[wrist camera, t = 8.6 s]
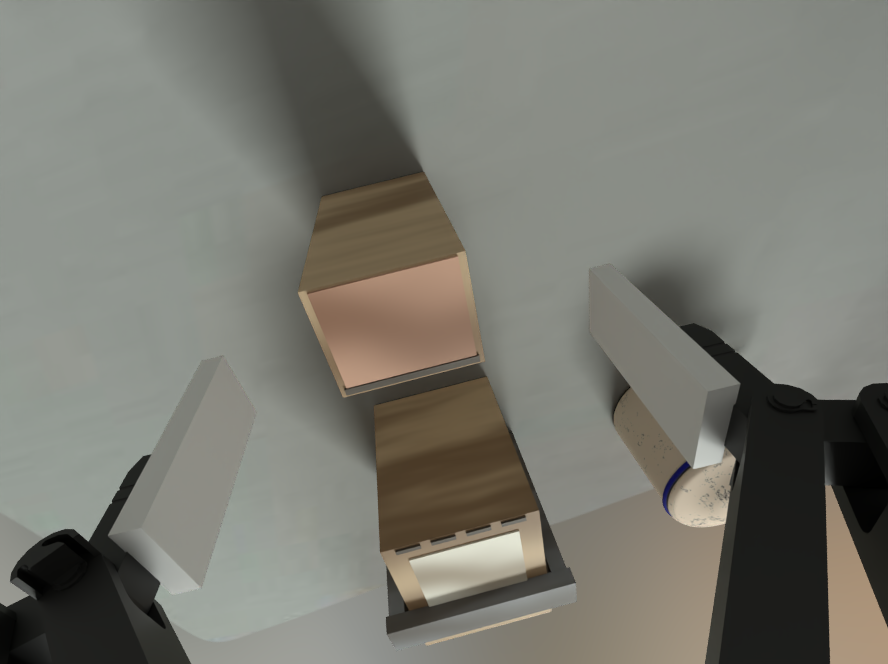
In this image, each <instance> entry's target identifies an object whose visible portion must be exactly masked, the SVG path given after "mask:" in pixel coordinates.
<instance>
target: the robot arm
mask: <svg viewBox="0 0 888 664" xmlns="http://www.w3.org/2000/svg"><path fill="white" fill-rule="evenodd" d="M589 322H590V333H591V335H592V336H593V337H594V339H595V340H596V341H597V343H598V344H599V345H600V347H601V348H602V349H603V351H604V352H605V353H606V355H607V356H608V357H609V359H610V360H611V361H612V363H613V364H614V365H615V367H616V368H617V369H618V371H619V372H620V373H621V375H622V376H623V377H624V378H625V380H626V381H627V382H628V384H629V385H630V386H631V388H632V389H633V390H634V392H635V393H636V394H637V396H638V397H639V398H640V400H641V401H642V402H643V404H644V405H645V406H646V408H647V409H648V410H649V412H650V413H651V414H652V416H653V417H654V418H655V420H656V421H657V422H658V424H659V425H660V426H661V428H662V429H663V430H664V432H665V433H666V434H667V435H668V437H669V438H670V439H671V441H672V442H673V443H674V445H675V446H676V447H677V449H678V450H679V451H680V453H681V454H682V455H683V457H684V458H685V459H686V461H687V462H688V463H689V465H690V466H691V467H692V469H697V468H701V467H705V466H709V465H713V464H717V463H721V462H722V458H723V454H724V450H725V447H726V448H727V449H728V450H729V452H730V453H731V454H732V455H733V456H734V457H735V458H736V460H735V464H734V468H733V472H732V475H731V479H730V483H729V485H730V486H731V489H730V496H729V503H728V510H727V517H726V524H725V530H724V538H723V544H722V551H721V558H720V565H719V572H718V579H717V586H716V593H715V599H714V606H713V613H712V619H711V626H710V633H709V640H708V647H707V654H706V660H705V664H830V648H829V610H828V575H827V574H828V573H827V536H826V500H825V499H826V498H825V485H831V486H832V489H833V491H834V494H835V496H836V499H837V501H838V504H839V506H840V509H841V511H842V514H843V516H844V519H845V521H846V524H847V526H848V529H849V531H850V534H851V536H852V539H853V541H854V544H855V546H856V549H857V552H858V554H859V556H860V559H861V562H862V564H863V567H864V569H865V572H866V574H867V577H868V579H869V582H870V584H871V587H872V589H873V592H874V594H875V597H876V599H877V602H878V604H879V607H880V609H881V612H882V614H883V617H884V619H885V622H886V624H887V627H888V383H878V384H871V385H868V386H866V387H864V388H863V389H862V390H861V392H860V393H859V395H858V397H857V400H817V399H816V398H815V397H814V396H813V395H812V394H810V393H808V392H806V391H804V390H802V389H800V388H797V387H793V386H790V385H784V384H774V383H773V382H771V381H770V380H769V379H768V378H767V377H765V376H764V375H763V374H762V373H761V372H760V371H758V370H757V369H756V368H755V367H754V366H752V365H751V364H750V363H749V362H748V361H747V360H745V359H744V358H743V357H742V356H741V355H739V354H738V353H735V350H734V349H732V348H731V347H730V346H729V345H728V344H725V343H724V341H723V340H722V339H721V338H719V337H718V336H717V335H716V334H715V333H713V332H712V331H710V330H708V329H706V328H704V327H701V326H699V325H697V324H689V325H685V326H681V327H679V326H677V325H676V324H675V323H674V322H673V321H672V320H671V319H670V318H669V317H668V316H667V315H666V314H664V313H663V312H662V311H661V310H660V309H659V308H658V307H657V306H656V305H655V304H654V303H653V302H651V301H650V300H649V299H648V298H647V297H646V296H645V295H644V294H643V293H642V292H641V291H640V290H638V289H637V288H636V287H635V286H634V285H633V284H632V283H631V282H630V281H629V280H628V279H627V278H625V277H624V276H623V275H622V274H621V273H620V272H619V271H618V270H617V269H616V268H615V267H614V266H612V265H611V264H606V265H602V266H597V267H593V268H589ZM255 415H256V410H255V408H254V407H253V405H252V403H251V402H250V400H249V398H248V396H247V395H246V393H245V391H244V390H243V388H242V386H241V385H240V383H239V381H238V380H237V378H236V376H235V375H234V373H233V371H232V370H231V368H230V366H229V364H228V363H227V361H226V359H225V358H224V356H219V357H215V358H211V359H207V360H202V361H201V363H200V365H199V367H198V368H197V370H196V372H195V374H194V376H193V378H192V380H191V382H190V383H189V385H188V387H187V389H186V391H185V393H184V395H183V396H182V398H181V400H180V402H179V404H178V406H177V408H176V409H175V411H174V413H173V415H172V417H171V419H170V421H169V423H168V424H167V426H166V428H165V430H164V432H163V434H162V436H161V437H160V439H159V441H158V443H157V445H156V447H155V449H154V450H153V452H152V454H151V455H147V456H143V457H142V458H141V459H140V460H139V461H138V462H137V463H136V464H135V465H134V466H133V468H132V469H131V470H130V471H129V472H128V473H127V475H126V477H125V479H124V480H123V482H122V484H121V486H120V487H119V488H120V490H119V491H117V493H116V494H115V496H114V498H113V500H112V504H110V505H109V507H108V509H107V510H106V512H105V514H104V516H103V517H102V519H101V521H100V523H99V524H98V526H97V528H96V530H95V531H94V533H93V535H92V537H91V538H90V540H89V542H88V541H87V540H86V539H84V538H83V537H82V536H81V535H80V534H79V533H77V532H76V531H75V530H74V529H64V530H61V531H58V532H55V533H53V534H51V535H49V536H47V537H45V538H44V539H42V540H40V541H39V542H38V543H37V544H35V545H34V546H33V547H32V548H30V549H29V550H28V551H27V552H26V553H25V555H24V556H23V557H22V558H21V559H20V560H19V561H18V562H17V564H16V566H15V567H14V569H13V571H12V573H11V579H10V582H11V583H12V584H14V585H15V586H17V587H18V588H20V589H21V590H23V591H24V592H26V593H27V594H29V596H28V597H26V598H23V599H22V600H20V601H18V602H16V603H14V604H12V605H10V606H8V607H6V606H4V605H2V604H1V603H0V664H191V663H190V661H189V659H188V657H187V655H186V653H185V651H184V649H183V647H182V645H181V643H180V641H179V640H178V637H177V635H176V633H175V631H174V630H173V628H172V626H171V624H170V622H169V620H168V618H167V616H166V614H165V612H164V610H163V608H162V606H161V605H160V604H159V603H158V602H157V601H156V600H155V599H154V598H155V596H156V593H157V591H158V588H159V585H160V584H161V585H162V586H163V587H164V588H165V589H166V590H167V591H168V592H170V593H171V594H172V595H176V594H180V593H184V592H188V591H192V590H196V589H200V588H202V585H203V582H204V578H205V575H206V572H207V569H208V566H209V562H210V559H211V556H212V553H213V550H214V546H215V543H216V540H217V537H218V534H219V530H220V527H221V524H222V521H223V518H224V515H225V511H226V508H227V505H228V502H229V499H230V495H231V492H232V489H233V486H234V483H235V479H236V476H237V473H238V470H239V467H240V463H241V460H242V457H243V454H244V451H245V447H246V444H247V441H248V438H249V435H250V431H251V428H252V425H253V422H254V419H255Z"/></svg>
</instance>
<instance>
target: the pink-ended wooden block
mask: <svg viewBox="0 0 888 664" xmlns="http://www.w3.org/2000/svg"><path fill="white" fill-rule="evenodd" d="M298 294H299V296H300V299H301V301H302V303H303V306H304V308H305V310H306V313H307V315H308V317H309V320H310V322H311V324H312V327H313V329H314V331H315V333H316V336H317V338H318V340H319V343H320V345H321V347H322V350H323V352H324V354H325V357H326V359H327V361H328V364H329V366H330V368H331V371H332V373H333V375H334V378H335V380H336V382H337V385H338V387H339V389H340V392H341V394H342V396H343V398H344V397H348V396H352V395H356V394H360V393H364V392H368V391H371V390H375V389H379V388H383V387H387V386H391V385H395V384H399V383H403V382H407V381H410V380H414V379H418V378H422V377H426V376H430V375H434V374H438V373H442V372H446V371H450V370H453V369H457V368H461V367H465V366H469V365H473V364H477V363H481V362H485V358H484V353H483V347H482V341H481V336H480V330H479V325H478V319H477V313H476V308H475V302H474V297H473V291H472V285H471V280H470V274H469V268H468V263H467V257H466V252H465V249H464V247H463V245H462V244H461V242H460V240H459V238H458V236H457V234H456V232H455V230H454V228H453V226H452V224H451V223H450V221H449V219H448V217H447V215H446V213H445V211H444V209H443V207H442V205H441V204H440V202H439V200H438V198H437V196H436V194H435V192H434V190H433V188H432V186H431V184H430V183H429V181H428V179H427V177H426V175H425V173H424V172H420V173H416V174H412V175H408V176H404V177H400V178H396V179H392V180H387V181H383V182H379V183H375V184H371V185H367V186H363V187H359V188H354V189H350V190H346V191H342V192H338V193H334V194H330V195H326V196H322V198H321V202H320V206H319V210H318V214H317V218H316V222H315V226H314V230H313V234H312V238H311V242H310V246H309V250H308V254H307V258H306V262H305V266H304V270H303V274H302V278H301V282H300V286H299V290H298Z"/></svg>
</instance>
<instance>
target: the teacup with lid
mask: <svg viewBox="0 0 888 664" xmlns="http://www.w3.org/2000/svg"><path fill="white" fill-rule="evenodd" d="M614 426H615V429H616V431H617V433H618V434H619V436H620V437H621V439H622V440H623V442H624V443H625V445H626V446H627V448H628V449H629V451H630V452H631V454H632V455H633V457H634V458H635V460H636V461H637V463H638V464H639V466H640V467H641V469H642V470H643V471H644V473H645V474H646V476H647V477H648V479H649V480H650V482H651V483H652V485H653V486H654V488H655V489H656V491H657V492H658V494H659V495H660V497H661V498H662V501H663V506H664V508H665V510H666V512H667V513H668V514H669V515H670V516H672V517H673V518H674V519H675V520H677V521H678V522H681V523H683V524H685V525H688V526H693V527H709V526H716V525H720V524H724V523H726V517H727V510H728V503H729V496H730V489H731V486H730V485H729V483H730V479H731V475H732V472H733V468H734V464H735V460H736V458H735V457H734V456H733V455H732V454H731V453H730V452H729V450H728V449H727V448H726V447H725V450H724V454H723V458H722V462H721V463H717V464H713V465H709V466H705V467H701V468H697V469H692V467H691V466H690V465H689V463H688V462H687V461H686V459H685V458H684V457H683V455H682V454H681V453H680V451H679V450H678V449H677V447H676V446H675V445H674V443H673V442H672V441H671V439H670V438H669V437H668V435H667V434H666V433H665V432H664V430H663V429H662V428H661V426H660V425H659V424H658V422H657V421H656V420H655V418H654V417H653V416H652V414H651V413H650V412H649V410H648V409H647V408H646V406H645V405H644V404H643V402H642V401H641V400H640V398H639V397H638V396H637V394H636V393H635V392H634V390H633V389H632V388H631V387H630V388H629V389H628V390H627V391H626V393H625V394H624V395H623V396H622V398H621V399H620V401H619V402H618V404H617V407H616V409H615V413H614Z"/></svg>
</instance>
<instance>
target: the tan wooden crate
mask: <svg viewBox="0 0 888 664" xmlns="http://www.w3.org/2000/svg"><path fill="white" fill-rule="evenodd" d="M374 419H375V443H376V466H377V490H378V514H379V537H380V553H381V555H382V557H383V559H384V561H385V563H386V568H387V587H388V606H389V616H388V617H386V628H387V635H388V637H389V639H390V641H391V642H392V644H393V646H394V647H395V649H396V650H397V651H398V650H402V649H405V648H409V647H413V646H416V645H420V644H423V643H426V645H431V644H434V643H438V642H442V641H445V640H449V639H453V638H456V637H460V636H464V635H467V634H471V633H475V632H478V631H482V630H486V629H489V628H493V627H496V626H500V625H504V624H507V623H511V622H515V621H518V620H522V619H525V618H529V617H533V616H537V615H540V614H544V613H548V612H551V608H555V607H559V606H562V605H566V604H570V603H573V602H576V601H577V595H576V582H575V580H574V577H573V575H572V572H571V570H570V568H566V566H565V564H564V561H563V558H562V556H561V553H560V551H559V548H558V546H557V543H556V541H555V538H554V536H553V533H552V531H551V528H550V526H549V523H548V521H547V518H546V516H545V513H544V511H543V508H542V506H541V503H540V501H539V498H538V496H537V493H536V491H535V488H534V486H533V483H532V481H531V478H530V476H529V473H528V471H527V468H526V465H525V463H524V460H523V458H522V455H521V453H520V450H519V448H518V445H517V443H516V440H515V438H514V435H513V433H509V432H508V429H507V427H506V424H505V421H504V419H503V416H502V414H501V411H500V409H499V406H498V403H497V401H496V398H495V396H494V393H493V391H492V388H491V386H490V383H489V380H488V378H487V377H483V378H479V379H475V380H472V381H468V382H464V383H460V384H456V385H452V386H448V387H444V388H440V389H437V390H433V391H429V392H425V393H421V394H417V395H413V396H409V397H405V398H402V399H398V400H394V401H390V402H386V403H382V404H378V405H374Z"/></svg>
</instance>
